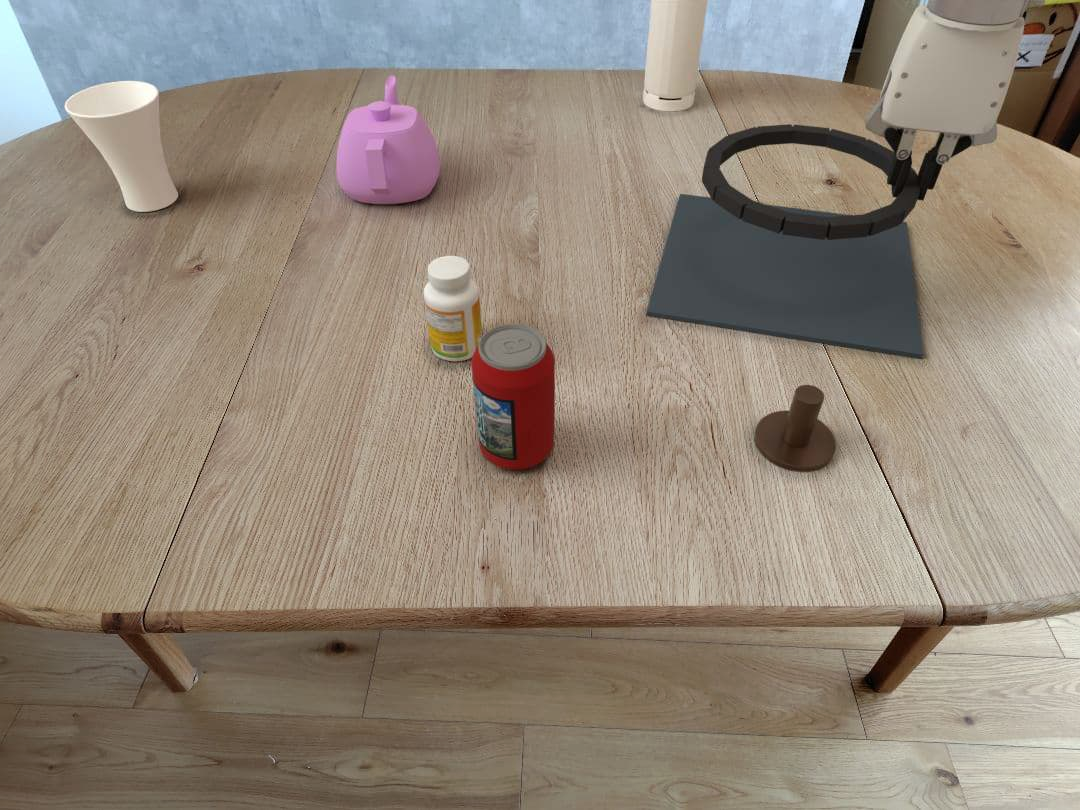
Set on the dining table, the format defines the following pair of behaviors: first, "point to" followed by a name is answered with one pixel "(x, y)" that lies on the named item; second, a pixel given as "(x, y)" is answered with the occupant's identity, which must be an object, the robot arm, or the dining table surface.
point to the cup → (127, 139)
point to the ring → (800, 222)
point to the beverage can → (514, 396)
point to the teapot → (387, 152)
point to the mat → (788, 281)
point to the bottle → (673, 53)
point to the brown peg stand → (797, 434)
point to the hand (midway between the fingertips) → (907, 191)
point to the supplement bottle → (452, 309)
